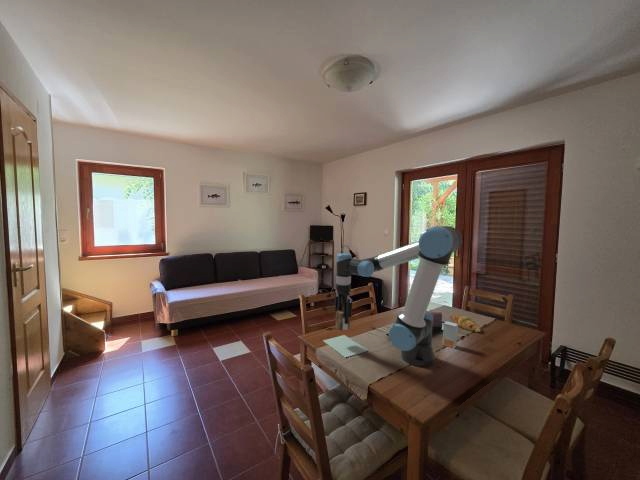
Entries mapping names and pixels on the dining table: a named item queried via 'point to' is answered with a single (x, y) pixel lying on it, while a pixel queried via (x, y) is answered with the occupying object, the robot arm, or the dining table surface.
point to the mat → (345, 346)
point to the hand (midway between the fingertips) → (342, 327)
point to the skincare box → (450, 334)
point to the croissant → (465, 323)
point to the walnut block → (340, 320)
